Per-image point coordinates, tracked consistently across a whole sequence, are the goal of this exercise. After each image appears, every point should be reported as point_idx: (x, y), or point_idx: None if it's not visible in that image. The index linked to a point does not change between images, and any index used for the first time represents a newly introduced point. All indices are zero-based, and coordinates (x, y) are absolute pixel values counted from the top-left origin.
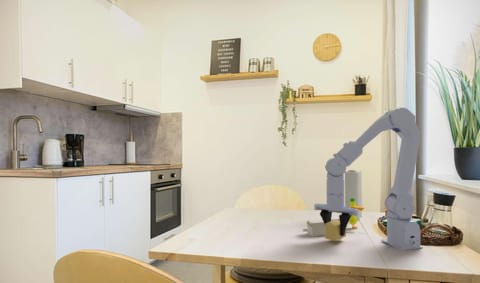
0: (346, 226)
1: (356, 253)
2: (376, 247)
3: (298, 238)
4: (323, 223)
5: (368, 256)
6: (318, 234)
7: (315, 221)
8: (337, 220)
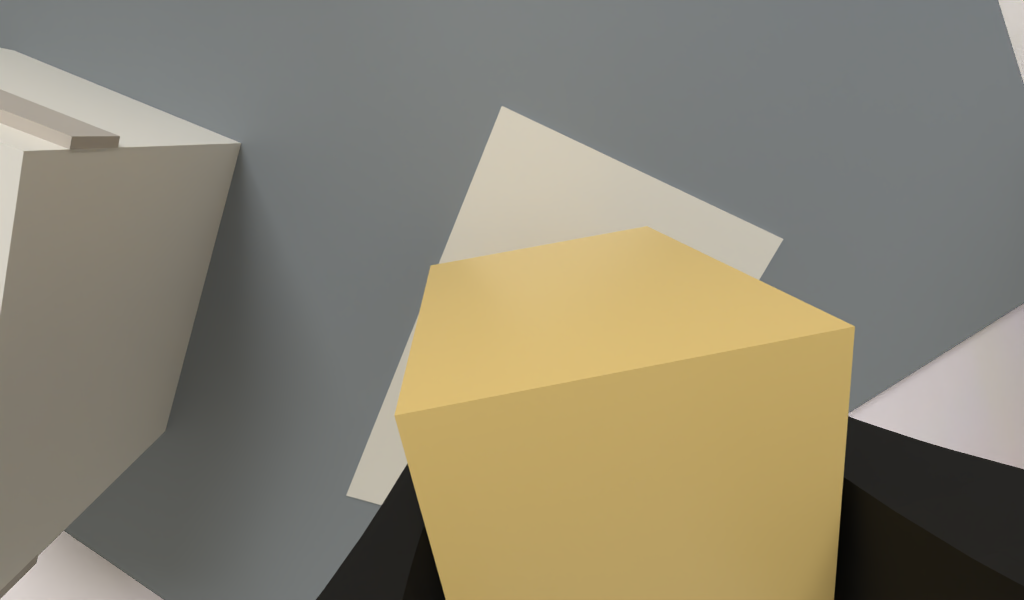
0: (868, 436)
1: (865, 414)
2: (1013, 12)
3: (92, 558)
4: (24, 351)
5: (991, 388)
6: (168, 355)
7: None
8: (541, 446)
